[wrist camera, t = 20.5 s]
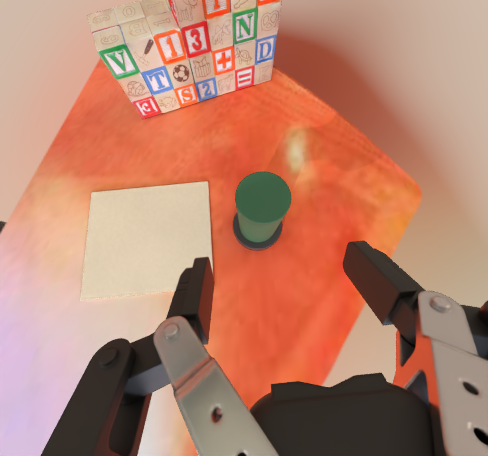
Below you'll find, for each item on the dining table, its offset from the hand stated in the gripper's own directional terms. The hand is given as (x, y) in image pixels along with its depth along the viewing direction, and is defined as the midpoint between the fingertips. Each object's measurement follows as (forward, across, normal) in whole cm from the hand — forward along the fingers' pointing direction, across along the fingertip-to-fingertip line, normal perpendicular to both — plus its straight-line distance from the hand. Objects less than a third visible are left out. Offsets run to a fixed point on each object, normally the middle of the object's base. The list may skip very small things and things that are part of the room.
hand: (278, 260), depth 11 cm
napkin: (+13, -14, -5) cm, 20 cm away
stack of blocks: (+30, -6, +12) cm, 33 cm away
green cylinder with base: (+13, 0, -5) cm, 14 cm away
